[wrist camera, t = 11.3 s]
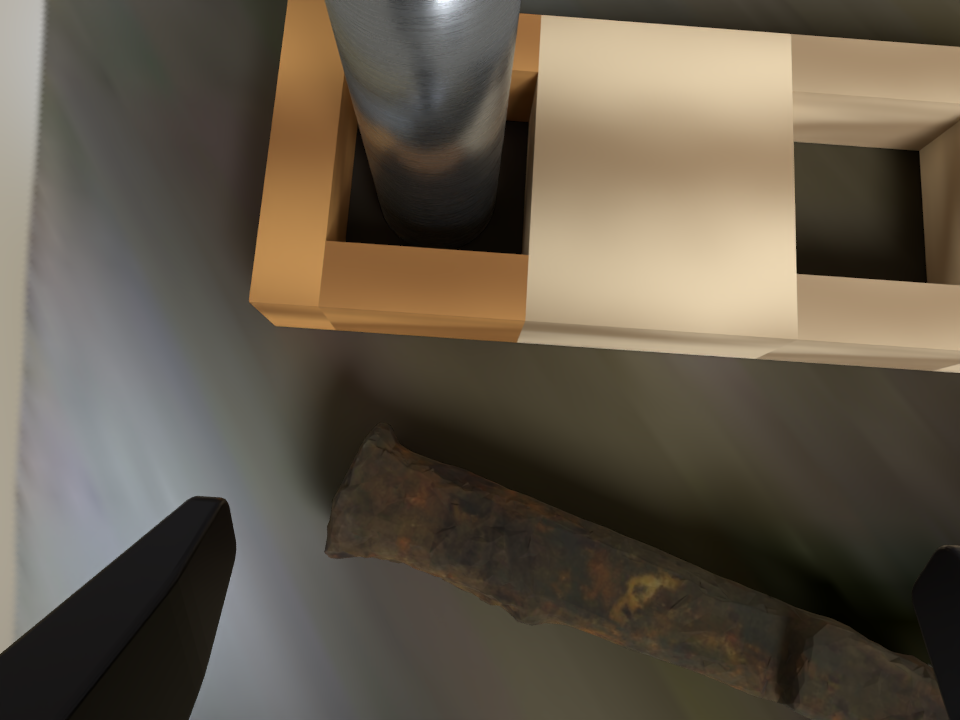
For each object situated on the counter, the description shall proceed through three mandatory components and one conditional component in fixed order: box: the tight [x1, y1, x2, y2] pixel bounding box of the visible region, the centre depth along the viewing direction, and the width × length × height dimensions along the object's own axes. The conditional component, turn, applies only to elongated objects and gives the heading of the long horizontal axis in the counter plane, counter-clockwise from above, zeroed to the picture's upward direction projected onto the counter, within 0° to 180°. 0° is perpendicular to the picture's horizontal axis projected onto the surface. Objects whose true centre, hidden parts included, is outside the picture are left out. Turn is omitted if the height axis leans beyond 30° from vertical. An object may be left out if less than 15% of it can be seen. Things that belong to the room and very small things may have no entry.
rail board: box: [249, 0, 960, 373], centre depth 23 cm, size 10×25×3 cm, turn 86°
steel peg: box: [325, 0, 521, 250], centre depth 18 cm, size 4×4×13 cm
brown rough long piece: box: [324, 422, 949, 720], centre depth 20 cm, size 19×4×5 cm, turn 67°
